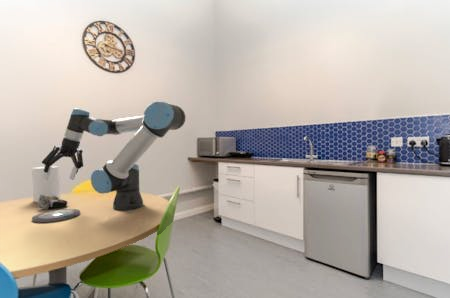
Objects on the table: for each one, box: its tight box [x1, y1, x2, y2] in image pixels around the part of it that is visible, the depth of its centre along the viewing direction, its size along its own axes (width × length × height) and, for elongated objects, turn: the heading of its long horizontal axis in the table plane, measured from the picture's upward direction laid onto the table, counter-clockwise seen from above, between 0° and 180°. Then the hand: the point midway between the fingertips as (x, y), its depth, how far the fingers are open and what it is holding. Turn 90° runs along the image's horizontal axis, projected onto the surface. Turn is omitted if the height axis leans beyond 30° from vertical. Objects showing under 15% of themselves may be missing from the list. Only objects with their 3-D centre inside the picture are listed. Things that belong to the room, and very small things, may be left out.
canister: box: [31, 165, 61, 203], centre depth 159 cm, size 14×14×20 cm
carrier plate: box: [31, 208, 81, 224], centre depth 122 cm, size 19×19×1 cm
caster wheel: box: [36, 195, 68, 211], centre depth 139 cm, size 7×11×10 cm
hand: (58, 179), depth 130 cm, fingers open, 13 cm apart
